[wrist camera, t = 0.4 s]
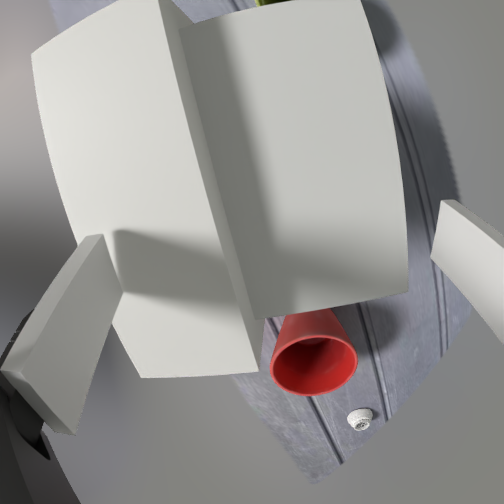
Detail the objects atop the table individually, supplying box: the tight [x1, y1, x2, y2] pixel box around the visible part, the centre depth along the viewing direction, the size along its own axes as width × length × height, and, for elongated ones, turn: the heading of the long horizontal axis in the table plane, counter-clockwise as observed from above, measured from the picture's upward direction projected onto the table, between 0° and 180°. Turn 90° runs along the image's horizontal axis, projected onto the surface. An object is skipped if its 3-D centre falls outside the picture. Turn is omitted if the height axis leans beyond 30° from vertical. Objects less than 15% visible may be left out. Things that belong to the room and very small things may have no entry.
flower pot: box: [270, 308, 358, 396], centre depth 41 cm, size 11×11×10 cm
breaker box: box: [31, 0, 408, 378], centre depth 23 cm, size 16×13×28 cm
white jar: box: [347, 408, 373, 430], centre depth 51 cm, size 5×3×5 cm
